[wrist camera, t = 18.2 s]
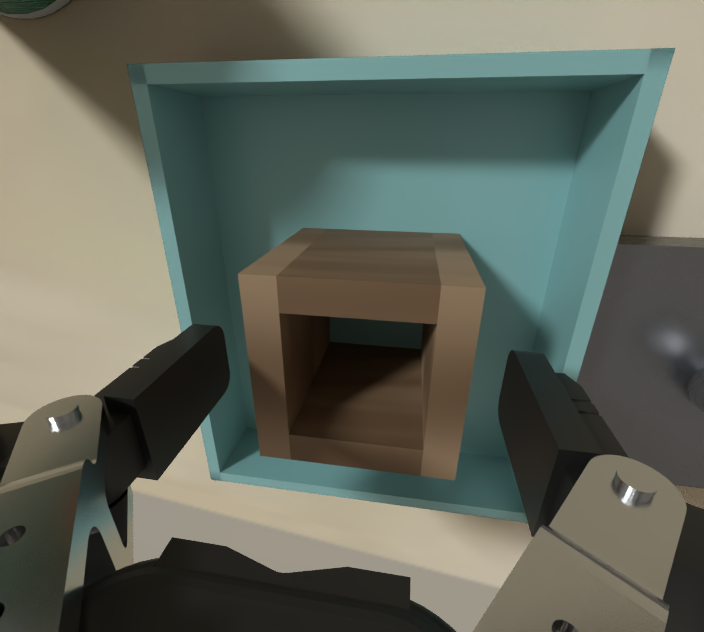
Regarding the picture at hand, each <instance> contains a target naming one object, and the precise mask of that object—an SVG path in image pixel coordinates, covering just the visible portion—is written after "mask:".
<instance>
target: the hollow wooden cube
mask: <svg viewBox="0 0 704 632" xmlns="http://www.w3.org/2000/svg"><path fill="white" fill-rule="evenodd" d="M238 280H239V288H240V296H241V304H242V312H243V320H244V328H245V337H246V345H247V353H248V361H249V369H250V377H251V385H252V393H253V401H254V409H255V418H256V426H257V434H258V442H259V450H260V456H266V457H274V458H282V459H290V460H298V461H305V462H313V463H321V464H329V465H337V466H345V467H353V468H361V469H369V470H377V471H384V472H392V473H400V474H408V475H416V476H424V477H432V478H440V479H448V480H455V477H456V471H457V465H458V459H459V452H460V446H461V440H462V434H463V428H464V421H465V415H466V409H467V403H468V397H469V390H470V384H471V378H472V372H473V366H474V359H475V353H476V347H477V341H478V335H479V328H480V322H481V316H482V310H483V303H484V297H485V291H486V287H485V285H484V283H483V281H482V279H481V277H480V275H479V273H478V271H477V269H476V267H475V265H474V263H473V260H472V258H471V256H470V254H469V252H468V250H467V248H466V246H465V244H464V242H463V240H462V238H461V236H460V234H454V233H428V232H401V231H375V230H348V229H322V228H302V229H301V230H299V231H298V232H296V233H295V234H294V235H292V236H291V237H289V238H288V239H286V240H285V241H284V242H282V243H281V244H279V245H278V246H277V247H275V248H274V249H272V250H271V251H269V252H268V253H267V254H265V255H264V256H262V257H261V258H260V259H258V260H257V261H255V262H254V263H252V264H251V265H250V266H248V267H247V268H245V269H244V270H243V271H241V272H240V273H238ZM330 317H341V318H355V319H369V320H383V321H397V322H411V323H424V324H423V335H422V346H421V349H413V348H400V347H388V346H375V345H363V344H351V343H338V342H330Z"/></svg>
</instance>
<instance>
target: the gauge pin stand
mask: <svg viewBox="0 0 704 632" xmlns="http://www.w3.org/2000/svg"><path fill="white" fill-rule="evenodd" d="M577 383H578V384H579V385H580V386H582V388H583V389H584V391H585V392H586V394H587V395H588V397H589V398H590V400H591V403H592V404H594V406H595V407H596V409H597V410H598V412H599V416H602V418H603V419H604V421H605V422H606V424H607V425H608V427H609V428H610V430H611V431H612V433H613V434H614V436H615V437H616V439H617V440H618V442H619V443H620V445H621V446H622V448H623V449H624V451H625V452H626V454H627V455H628V457H629V458H630V459H633V460H636V461H639V462H641V463H643V464H645V465H647V466H649V467H651V468H653V469H654V470H656V471H658V472H659V473H661V474H662V475H663V476H665V477H666V478H667V479H668V480H669V481H671V482H672V483H673V484H674V485H680V486H689V487H697V488H704V238H679V237H650V236H621V235H620V237H619V240H618V243H617V247H616V250H615V254H614V257H613V260H612V264H611V267H610V271H609V274H608V277H607V281H606V284H605V287H604V291H603V294H602V298H601V301H600V304H599V308H598V311H597V315H596V318H595V321H594V325H593V328H592V331H591V335H590V338H589V342H588V345H587V348H586V352H585V355H584V359H583V362H582V365H581V369H580V372H579V375H578V379H577Z"/></svg>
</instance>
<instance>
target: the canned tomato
mask: <svg viewBox="0 0 704 632" xmlns="http://www.w3.org/2000/svg"><path fill="white" fill-rule="evenodd" d="M69 1H70V0H0V15H4V16H8V17H12V18H16V19H35V18H39V17H42V16H46V15H49V14H52V13H54V12H55V11H57V10H58V9H60V8H61V7H63V6H64V5H66V4H67V3H68V2H69Z"/></svg>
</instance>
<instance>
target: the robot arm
mask: <svg viewBox="0 0 704 632" xmlns="http://www.w3.org/2000/svg"><path fill="white" fill-rule="evenodd" d="M229 381H230V368H229V362H228V355H227V349H226V343H225V336H224V332H223V330H222V328H221V327H220V326H215V325H202V324H192V325H191V326H189V327H188V328H187V329H186V330H184V331H183V332H182V333H181V334H179V335H178V336H177V337H176V338H174V339H173V340H171V341H168V342H166V343H164V344H162V345H160V346H158V347H156V348H155V349H153V350H152V351H151V352H149V353H148V354H147V355H146V356H144V359H141V360H139V361H138V362H137V363H135V364H134V365H133V368H129V369H128V370H126V371H125V372H124V373H123V374H121V375H120V376H119V377H118V378H116V379H115V380H114V381H112V382H111V383H110V384H109V385H107V386H106V387H105V388H103V389H102V390H101V391H100V392H98V393H97V394H96V395H95V396H91V395H77V396H71V397H67V398H63V399H60V400H57V401H54V402H52V403H50V404H47V405H45V406H43V407H42V408H40V409H38V410H37V411H35V412H34V413H33V414H31V415H30V416H29V417H28V418H27V419H26V420H25V422H18V423H9V424H0V632H456V631H455V630H454V629H453V628H452V627H451V626H450V625H448V624H447V623H446V622H445V621H443V620H442V619H441V618H440V617H439V616H437V615H436V614H434V613H433V612H431V611H429V610H428V609H426V608H425V607H423V606H421V605H419V604H417V603H415V602H413V601H411V600H410V577H405V576H399V575H393V574H387V573H381V572H375V571H369V570H363V569H357V568H351V567H342V568H332V569H323V570H312V571H303V572H293V573H279V572H276V571H274V570H272V569H270V568H268V567H266V566H264V565H262V564H260V563H258V562H256V561H254V560H252V559H250V558H248V557H246V556H244V555H242V554H240V553H238V552H236V551H234V550H232V549H230V548H228V547H226V546H221V545H215V544H209V543H203V542H197V541H191V540H185V539H179V538H172V539H171V540H170V542H169V543H168V545H167V546H166V548H165V550H164V551H163V553H162V555H161V556H160V558H155V559H151V560H147V561H142V562H138V563H135V564H134V561H133V560H134V559H133V492H132V489H131V486H130V485H131V483H132V482H133V481H134V480H135V479H136V477H139V478H146V479H152V480H158V479H159V478H160V477H161V475H162V474H163V473H164V471H165V470H166V469H167V467H168V466H169V465H170V464H171V462H172V461H173V460H174V458H175V457H176V456H177V455H178V453H179V452H180V451H181V449H182V448H183V447H184V445H185V444H186V443H187V442H188V440H189V439H190V438H191V436H192V435H193V434H194V432H195V431H196V430H197V429H198V427H199V426H200V425H201V423H202V422H203V421H204V420H205V418H206V417H207V416H208V414H209V413H210V412H211V410H212V409H213V408H214V407H215V405H216V404H217V403H218V401H219V400H220V399H221V398H222V396H223V395H224V394H225V392H226V390H227V388H228V385H229ZM498 417H499V423H500V427H501V430H502V434H503V437H504V441H505V444H506V448H507V451H508V455H509V458H510V462H511V465H512V469H513V472H514V476H515V479H516V483H517V486H518V490H519V493H520V497H521V500H522V504H523V507H524V510H525V514H526V517H527V521H528V524H529V528H530V531H531V535H532V537H533V539H532V540H531V542H530V543H529V545H528V547H527V548H526V550H525V551H524V553H523V554H522V556H521V557H520V559H519V561H518V562H517V564H516V565H515V567H514V568H513V570H512V571H511V573H510V575H509V576H508V578H507V579H506V581H505V582H504V584H503V585H502V587H501V589H500V590H499V592H498V593H497V595H496V596H495V598H494V599H493V601H492V603H491V604H490V606H489V607H488V609H487V610H486V612H485V613H484V615H483V617H482V618H481V620H480V621H479V623H478V624H477V626H476V627H475V629H474V631H473V632H704V509H701V508H698V507H695V506H693V505H690V504H688V503H686V502H685V500H684V498H683V496H682V494H681V493H680V491H679V490H678V489H677V488H676V486H675V485H674V484H673V483H672V482H671V481H669V480H668V479H667V478H666V477H665V476H663V475H662V474H661V473H659V472H658V471H656V470H654V469H653V468H651V467H649V466H647V465H645V464H643V463H641V462H639V461H636V460H633V459H630V458H629V457H628V455H627V454H626V452H625V451H624V449H623V448H622V446H621V445H620V443H619V442H618V440H617V439H616V437H615V436H614V434H613V433H612V431H611V430H610V428H609V427H608V425H607V424H606V422H605V421H604V419H603V418H602V416H599V412H598V410H597V409H596V407H595V406H594V404H592V403H591V400H590V398H589V397H588V395H587V394H586V392H585V391H584V389H583V388H582V386H580V385H579V384H578V383H577V382H575V381H574V380H573V379H571V378H570V377H569V376H567V375H566V374H565V373H555V371H554V370H553V368H552V366H551V365H550V363H549V361H548V360H547V358H546V356H545V355H544V353H542V352H532V351H519V350H511V351H510V352H509V355H508V358H507V363H506V367H505V372H504V377H503V382H502V387H501V392H500V396H499V403H498Z"/></svg>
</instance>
